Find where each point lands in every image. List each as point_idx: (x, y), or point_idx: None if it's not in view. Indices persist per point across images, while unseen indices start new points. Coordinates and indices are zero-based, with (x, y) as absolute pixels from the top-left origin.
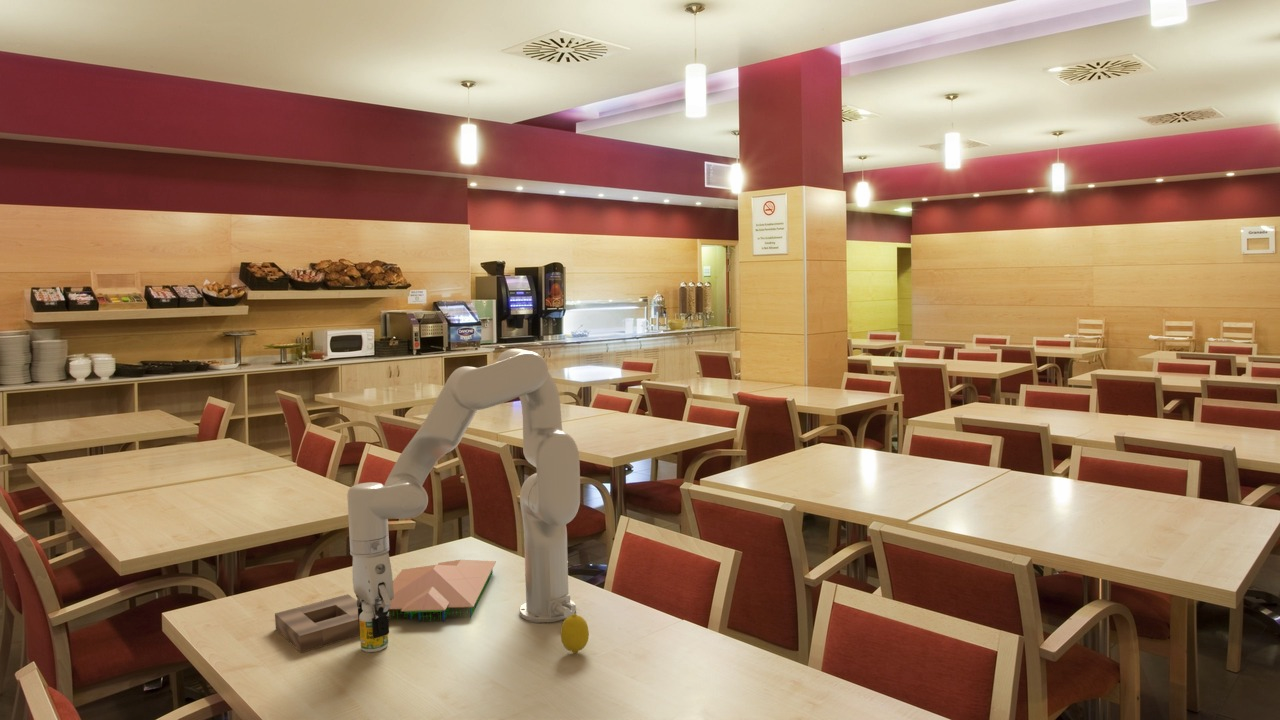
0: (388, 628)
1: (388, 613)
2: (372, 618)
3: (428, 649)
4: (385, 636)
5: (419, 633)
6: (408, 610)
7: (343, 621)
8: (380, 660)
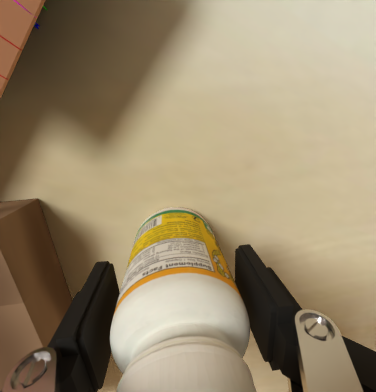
0: (255, 255)
1: (333, 326)
2: (276, 368)
3: (306, 117)
4: (213, 237)
5: (162, 84)
6: (9, 65)
7: (19, 337)
8: (265, 249)
